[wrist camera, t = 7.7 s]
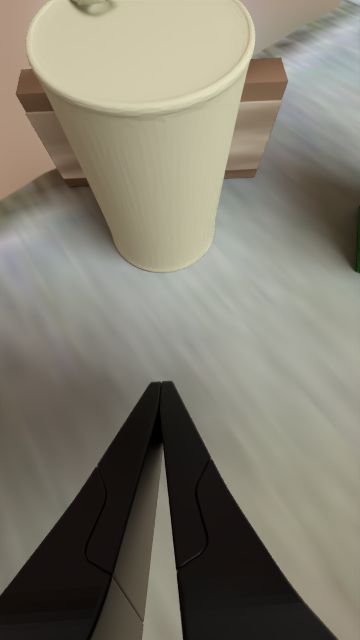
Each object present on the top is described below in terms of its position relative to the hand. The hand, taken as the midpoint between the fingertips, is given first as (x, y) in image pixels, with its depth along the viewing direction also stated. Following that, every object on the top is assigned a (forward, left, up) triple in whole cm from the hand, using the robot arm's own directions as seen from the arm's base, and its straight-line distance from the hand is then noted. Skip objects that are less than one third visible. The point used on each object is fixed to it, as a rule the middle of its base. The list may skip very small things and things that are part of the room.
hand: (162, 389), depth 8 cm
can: (+9, +10, -8) cm, 16 cm away
